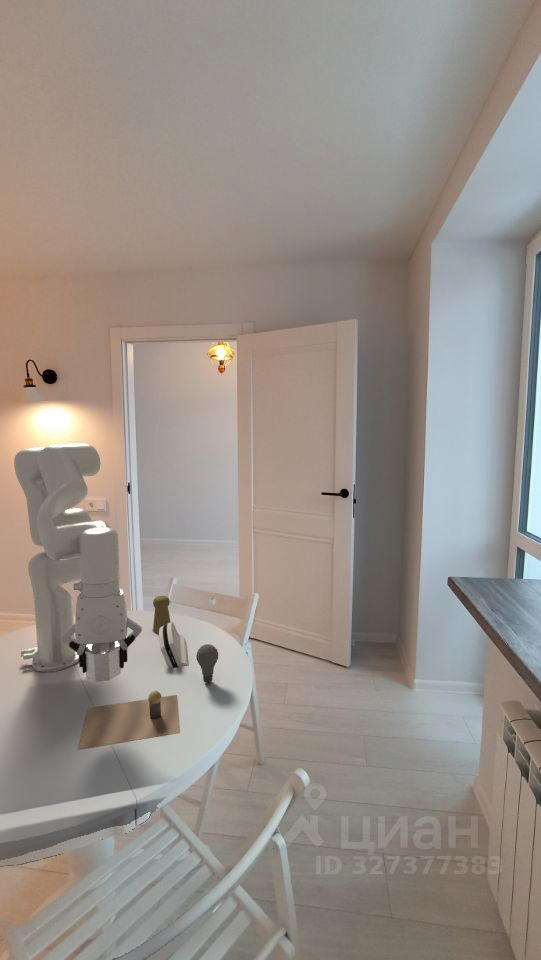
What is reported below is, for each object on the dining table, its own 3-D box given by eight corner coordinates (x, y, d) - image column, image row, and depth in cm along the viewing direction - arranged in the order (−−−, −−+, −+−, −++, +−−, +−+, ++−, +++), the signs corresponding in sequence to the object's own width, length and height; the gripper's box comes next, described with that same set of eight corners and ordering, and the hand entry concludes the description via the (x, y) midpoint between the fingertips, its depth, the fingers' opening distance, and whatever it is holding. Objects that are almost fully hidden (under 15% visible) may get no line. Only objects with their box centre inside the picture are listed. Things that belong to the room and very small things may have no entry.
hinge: (189, 670, 121) (175, 638, 120) (172, 677, 121) (158, 646, 119) (186, 642, 138) (173, 613, 136) (171, 648, 137) (158, 620, 135)
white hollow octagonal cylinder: (84, 683, 92) (83, 655, 91) (89, 666, 99) (88, 640, 98) (119, 679, 94) (118, 651, 93) (122, 662, 100) (121, 636, 100)
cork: (149, 633, 144) (148, 600, 143) (157, 625, 150) (156, 593, 149) (167, 634, 143) (166, 601, 142) (174, 626, 149) (173, 594, 148)
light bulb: (221, 686, 114) (220, 648, 113) (199, 690, 112) (198, 652, 111) (216, 674, 119) (215, 638, 118) (195, 679, 117) (194, 642, 116)
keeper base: (77, 756, 89) (75, 722, 88) (88, 714, 103) (86, 684, 102) (180, 739, 94) (179, 707, 93) (177, 700, 108) (176, 672, 107)
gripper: (51, 597, 88) (56, 682, 90) (143, 590, 92) (145, 671, 95) (59, 584, 95) (63, 663, 98) (144, 577, 100) (146, 653, 102)
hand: (104, 666), depth 96 cm, fingers closed on white hollow octagonal cylinder, 6 cm apart
